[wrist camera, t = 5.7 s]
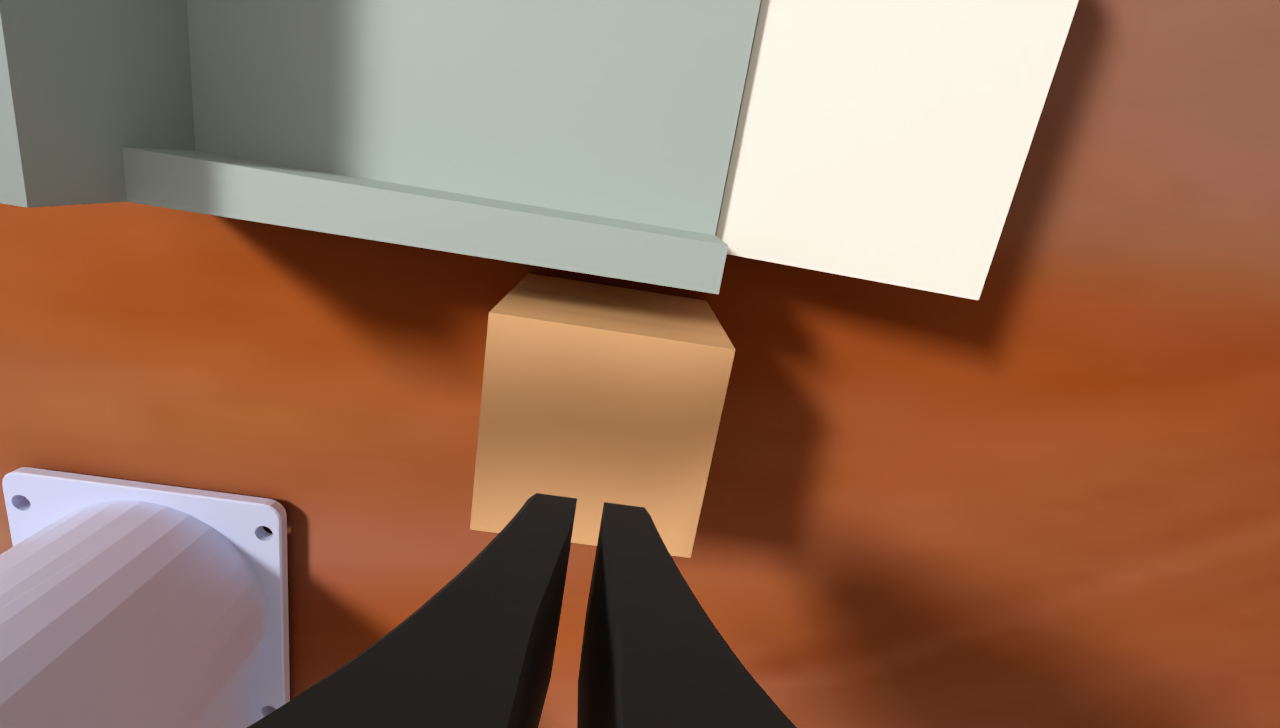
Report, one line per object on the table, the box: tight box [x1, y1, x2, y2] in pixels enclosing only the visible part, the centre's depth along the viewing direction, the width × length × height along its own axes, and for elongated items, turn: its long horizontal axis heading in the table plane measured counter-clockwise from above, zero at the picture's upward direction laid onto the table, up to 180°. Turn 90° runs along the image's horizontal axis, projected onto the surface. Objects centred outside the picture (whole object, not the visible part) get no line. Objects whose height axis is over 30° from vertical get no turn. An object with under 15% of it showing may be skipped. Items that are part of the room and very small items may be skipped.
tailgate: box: [716, 0, 1079, 300], centre depth 13 cm, size 9×2×6 cm
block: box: [470, 273, 735, 558], centre depth 15 cm, size 5×5×5 cm
